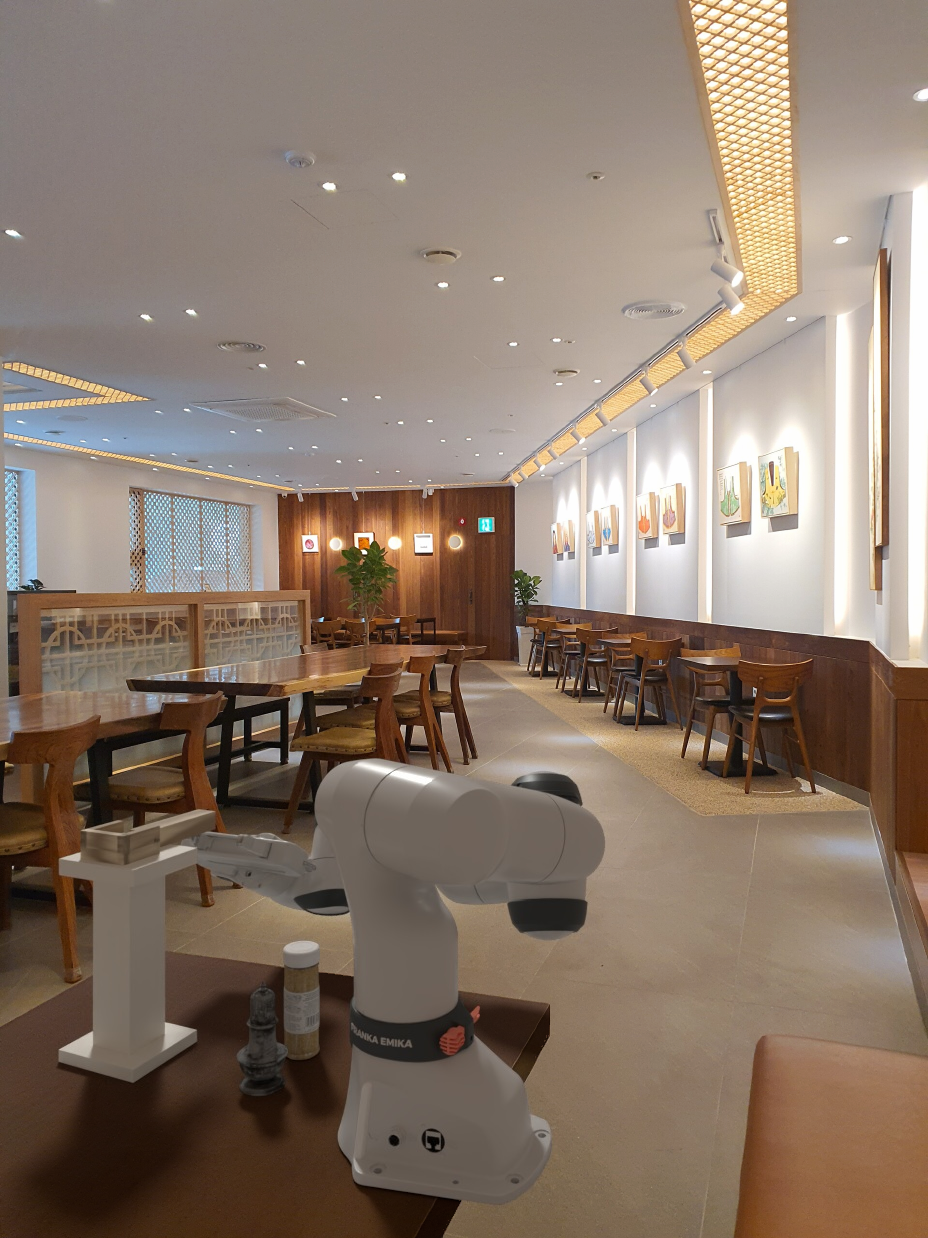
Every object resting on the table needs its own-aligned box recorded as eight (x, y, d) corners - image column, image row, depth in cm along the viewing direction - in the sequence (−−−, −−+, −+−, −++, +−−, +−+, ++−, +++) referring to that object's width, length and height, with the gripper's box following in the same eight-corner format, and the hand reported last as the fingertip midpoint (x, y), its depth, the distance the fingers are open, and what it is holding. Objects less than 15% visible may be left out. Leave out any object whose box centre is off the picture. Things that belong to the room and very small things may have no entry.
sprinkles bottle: (308, 1040, 113) (308, 936, 113) (326, 1054, 110) (326, 947, 110) (276, 1051, 110) (276, 945, 110) (293, 1066, 107) (294, 956, 107)
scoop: (226, 830, 122) (226, 805, 122) (123, 865, 105) (123, 836, 105) (187, 825, 125) (187, 801, 125) (80, 859, 108) (80, 830, 108)
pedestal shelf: (196, 1041, 113) (197, 847, 113) (133, 1083, 103) (133, 870, 103) (126, 1024, 118) (126, 838, 118) (58, 1062, 108) (58, 858, 108)
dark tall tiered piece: (275, 1100, 99) (275, 994, 99) (227, 1094, 100) (227, 990, 100) (295, 1074, 105) (296, 974, 105) (250, 1068, 106) (250, 970, 106)
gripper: (315, 892, 131) (267, 866, 120) (206, 876, 140) (152, 850, 129) (327, 850, 134) (281, 822, 123) (219, 837, 142) (167, 809, 131)
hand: (214, 836), depth 126 cm, fingers open, 8 cm apart
